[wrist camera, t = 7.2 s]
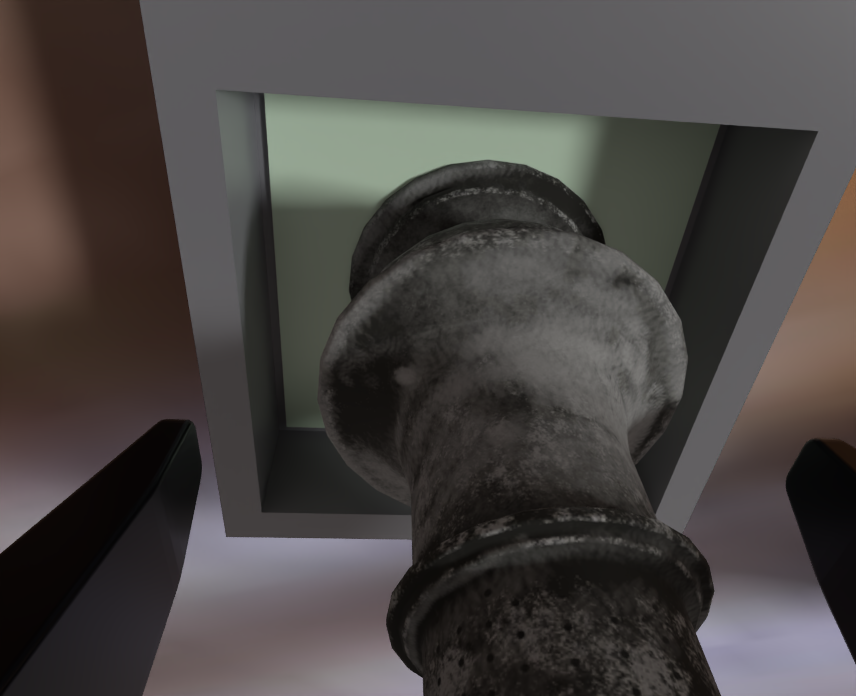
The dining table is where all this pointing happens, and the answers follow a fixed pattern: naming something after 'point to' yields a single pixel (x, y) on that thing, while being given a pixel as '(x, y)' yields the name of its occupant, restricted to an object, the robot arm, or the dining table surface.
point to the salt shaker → (518, 440)
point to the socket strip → (474, 141)
